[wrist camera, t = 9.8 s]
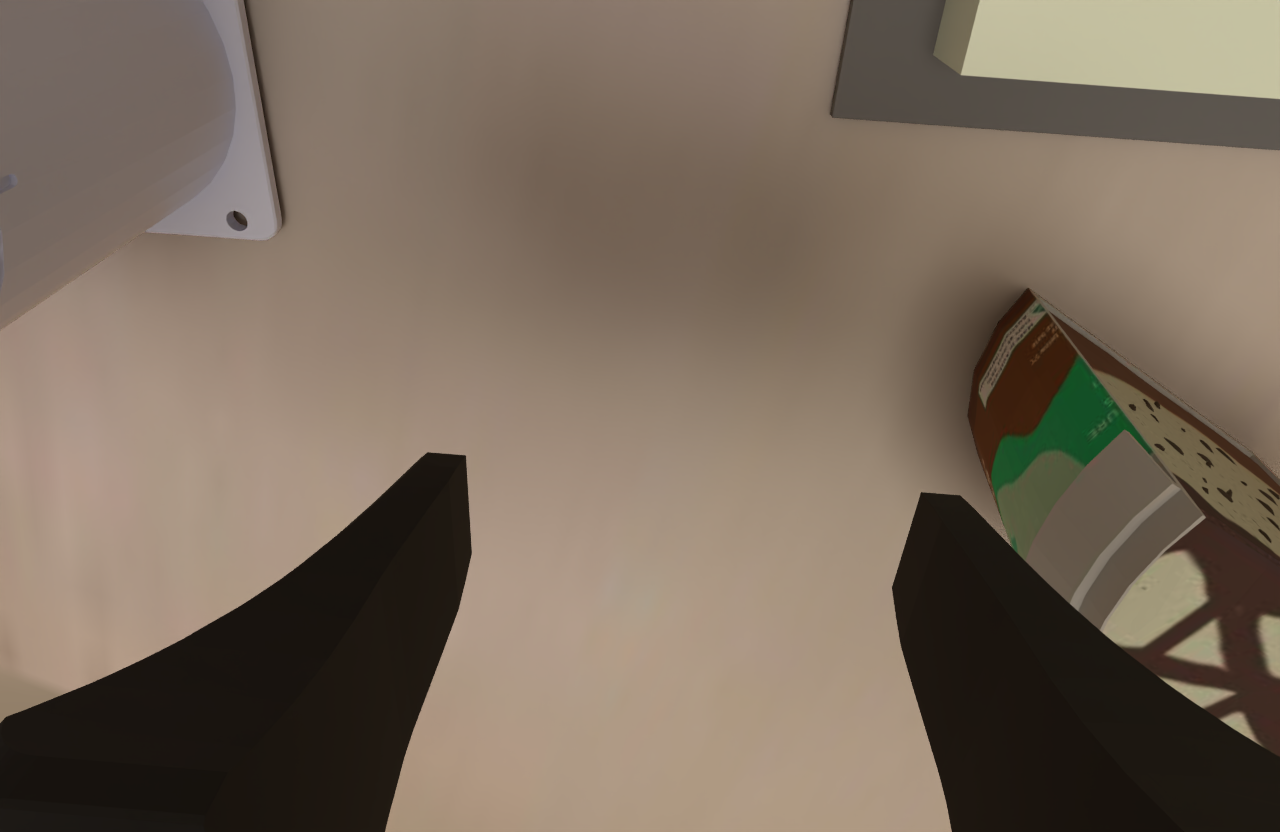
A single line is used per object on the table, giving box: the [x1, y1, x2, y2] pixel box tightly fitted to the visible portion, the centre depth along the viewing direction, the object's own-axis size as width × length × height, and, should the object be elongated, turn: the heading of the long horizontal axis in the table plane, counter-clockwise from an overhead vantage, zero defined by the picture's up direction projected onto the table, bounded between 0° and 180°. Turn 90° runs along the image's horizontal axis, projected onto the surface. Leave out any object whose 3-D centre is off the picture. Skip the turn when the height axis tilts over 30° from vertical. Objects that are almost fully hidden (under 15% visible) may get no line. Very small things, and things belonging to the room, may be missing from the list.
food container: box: [968, 288, 1280, 757], centre depth 21 cm, size 12×6×10 cm, turn 57°
